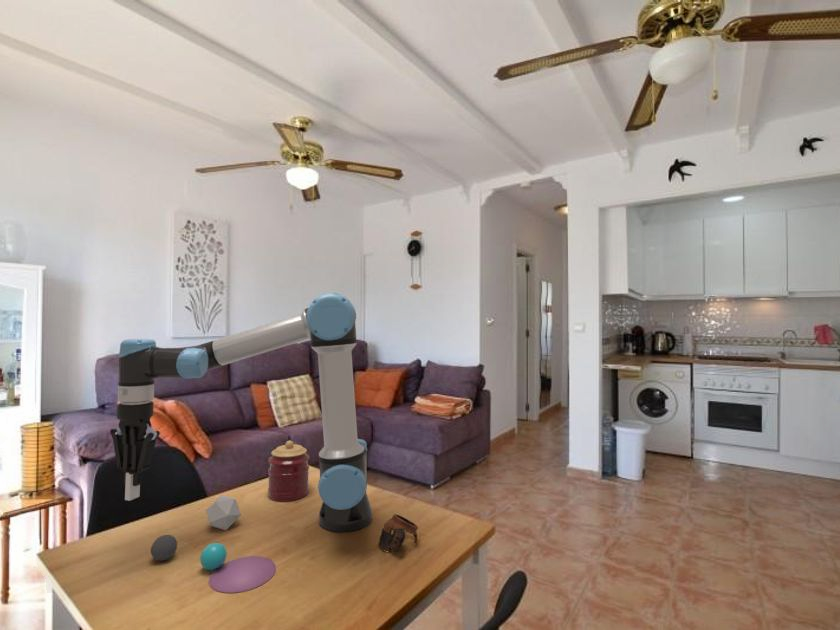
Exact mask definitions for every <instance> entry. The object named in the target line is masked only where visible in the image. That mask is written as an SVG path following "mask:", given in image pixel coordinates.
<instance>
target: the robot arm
mask: <svg viewBox="0 0 840 630" xmlns="http://www.w3.org/2000/svg"><path fill="white" fill-rule="evenodd" d="M356 319H357V313H356V310H355V307H354V305H353V303H351V300H349V298H347V296H344V295H342V294H340V293H335V292H329V293H323V294H321V295H319V296H317V297H316V298H314V299H313V301H311V303H310V305H309V306H308V307H307V308H304V309H303V311H302V312H301V313H299V314H296V315H292V316H290V317H287V318H282V319H279V320H276V321H273V322H270V323H266V324H264V325H261V326H260V325H259V326H257V327H255V328H250V329H246V330H243V331H240V332H238V333H237V332H236V333H234V334H231V335H228V336H224V337H221V338H218V339H215V340H211V341H207V342H204V343H201V344H197V345H194V346H193V345H192V346H184V347H159V346H157V343H156V342H157V341H156V340H155V339H149V338H148V339H147V338H145V339H144V338H138V339H137V338H132V339H131V338H129V339H124V340H122V341H121V342H120V344H119V345H120V346H119V354H118V383H117V389H118V390H117V401H118V402H119V403H118V404H117V405H116V406H117V407H116V419H118V420H119V423H118V425H117V427H115V428H111V429H110V430H109V433H110V436H111V438H112V440H113V441H112V442H113V448H114V455H115V462H116V467H117V469H121V470H122V471H123V473H124V478H123V483H124V486H125V488H124V489H125V490H124V501H129V502H130V501H133V500H136V499H137V498H139V497H141V496H140V491H141V484H142V483H143V479H142V478H143V471H145V470H148V469H150V467H151V464H152V459H153V454H154V451H155V450H154V449H155V446H156V443H157V439H158V438H159V436H160V433H161V432H160V431H159V430H154V429H153V428H152V423H151V418H152V417H153V416H154V404H155V403H154V401H153V400H154V399H155V379H160V378H161V379H163V378H165V379H185V380H189V379H201V378H202V377H204V376H205V374H206V373H207V371H211V370H213V369H214V370H215V369H217V368H219V367H222V366H226V365H228V364H229V365H230V364H232V363H236V362H239V361H242V360H245V359H248V358H252V357H254V356H258V355H262V354H264V353H269V352H271V351H274V350H277V349H280V348H284V347H287V346H290V345H294V344H297V343H301V342H304V341H306V340H310V348H311V349H312V350H313V351H314V352H316V353H317V357H318V358H317V361H318V376H319V389H320V404H321V405H320V406H321V407H320V408H321V418H322V419H321V420H322V434H323V447H322V448H321V449H320V451H319V452H318V464H319V480H318V484H317V487H318V488H317V490H318V495H319V498H320V499H321V501H322V503H321V507H320V510H319V513H318V525H319V526H321V528H322V529H325V530H327V531H331V532H338V533H345V532H347V533H348V532H354V531H357V529H358V530H360V528H361V529H363V528H365V527H366V525H367V526H368V525H369V524H370V523H371V522H372V520H373V511H372V509H373V508H372V506H371V504H370V500H369V497H368V494H367V487H368V481H367V462H368V461H367V459H368V455H367V454H368V447H367V446H368V444H367V442H366V440H364V439H360V438H358V424H357V414H356V413H357V412H356V399H355V385H354V384H355V383H354V371H353V370H354V369H353V356H352V355H353V354H352V351H353V349H354V348H355V347H356V345H358V344H357V343H358V342H357V329H356ZM371 519H372V520H371ZM370 521H371V522H370ZM353 530H354V531H353Z"/></svg>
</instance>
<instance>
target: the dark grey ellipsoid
mask: <svg viewBox="0 0 840 630" xmlns="http://www.w3.org/2000/svg"><path fill="white" fill-rule="evenodd" d="M177 549H178V541H177V538H176V537H175V536H173V535H171V534H163V535H161V536H159V537H157V538H156V539H155V540H154V541H153V542H152V545H151V547H150V555H151V557H152V558H153V559H154V560H155V561H158V562H162V561H166V560H169V559H170V558H172V557H173V556H174V554H176V551H177Z"/></svg>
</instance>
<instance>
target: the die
mask: <svg viewBox="0 0 840 630" xmlns="http://www.w3.org/2000/svg"><path fill="white" fill-rule="evenodd" d="M205 512H206V516H207V520H208V523H209V524H210V527H212V528H215V529H220V530H223V531H227V530H228V529H229V528H230V527H231V526H232V525H233V524H234V523H235V522H236V521H237V520H238V519H239V518H241V516H242V514H241V510H240V508H239V504H238V502H237V499H236V498H235V497H231V496H226V495H220V496H219V497H218V498H217V499H216V500H215V501H214V502H213V503H211V505H210V506H208V507H207V508H206V510H205Z"/></svg>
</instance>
